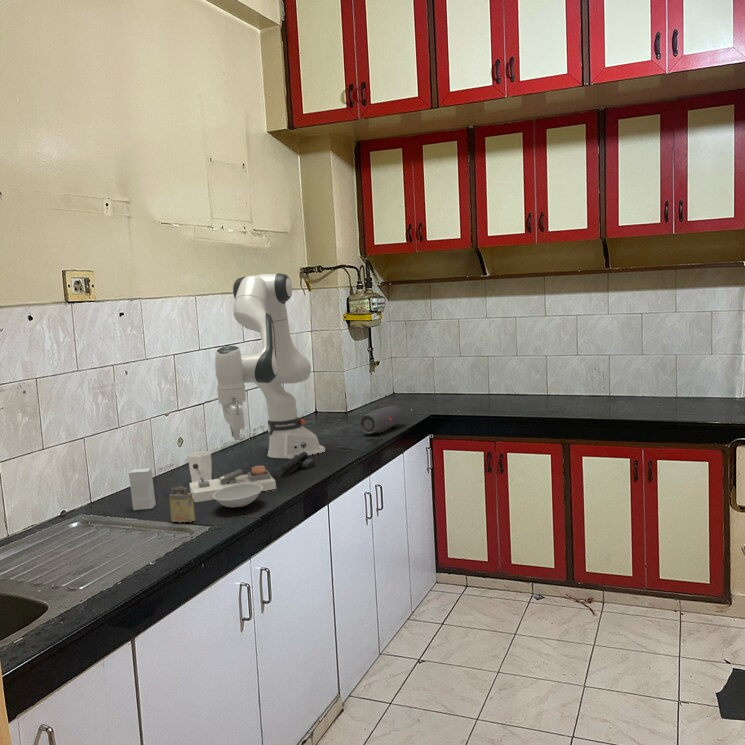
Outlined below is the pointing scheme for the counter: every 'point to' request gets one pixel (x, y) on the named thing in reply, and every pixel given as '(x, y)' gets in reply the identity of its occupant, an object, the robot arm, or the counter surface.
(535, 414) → the counter surface
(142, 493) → the skincare box
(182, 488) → the lighter
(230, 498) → the dish
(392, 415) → the bluetooth speaker
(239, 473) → the block
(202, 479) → the toggle lever
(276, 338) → the robot arm
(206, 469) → the white cup
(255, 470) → the push button
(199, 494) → the switch panel
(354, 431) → the counter surface
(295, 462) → the can opener
